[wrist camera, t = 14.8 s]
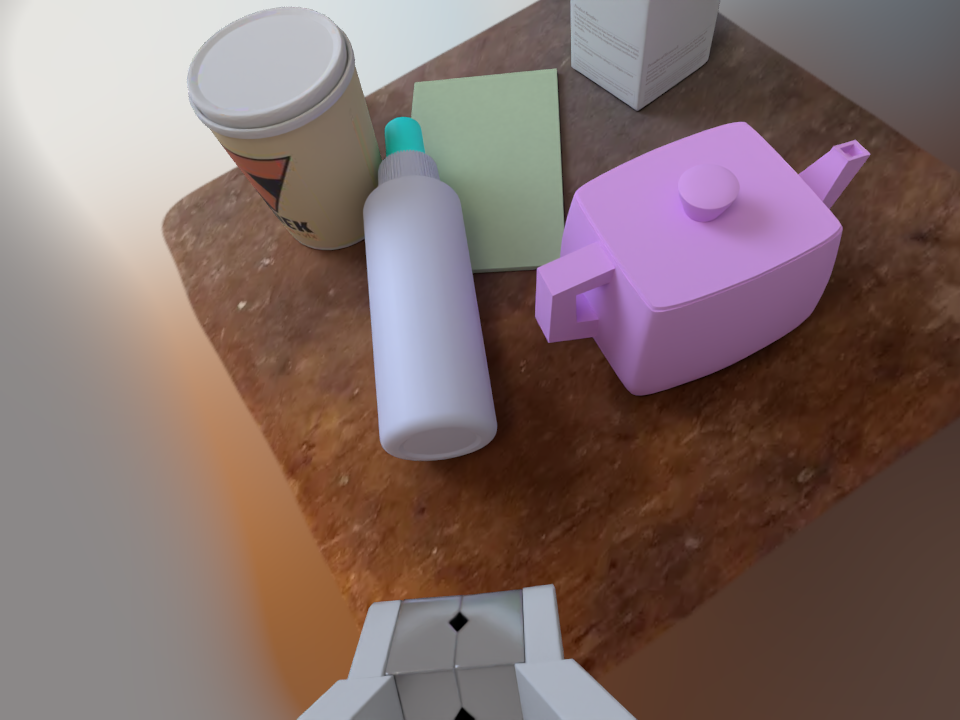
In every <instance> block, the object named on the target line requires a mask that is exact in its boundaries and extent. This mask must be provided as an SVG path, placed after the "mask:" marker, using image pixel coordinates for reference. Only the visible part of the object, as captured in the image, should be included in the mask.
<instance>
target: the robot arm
mask: <svg viewBox="0 0 960 720" xmlns="http://www.w3.org/2000/svg"><path fill="white" fill-rule="evenodd" d="M297 720H637V719H636V718H635V717H634V716H633V715H632V714H630V713H629V712H628V711H627V710H626V709H625V708H624V707H623V706H622V705H621V704H620V703H619V702H618V701H617V700H616V699H615V698H614V697H613V696H612V695H610V693H608V692H607V691H606V690H605V689H604V688H603V687H602V686H601V685H600V684H599V683H598V682H597V681H596V680H595V679H594V678H593V677H592V676H591V675H590V674H589V673H587V672H586V671H585V670H584V669H583V668H582V667H581V666H580V665H579V664H578V663H577V662H576V661H575V660H574V659H565V660H564V653H563V645H562V638H561V630H560V622H559V615H558V607H557V600H556V592H555V587H554V586H553V584H550V585H542V586H534V587H527V588H523V589H519V590H509V591H500V592H491V593H481V594H472V595H457V596H444V597H431V598H418V599H405V600H403V601H402V600H396V601H385V602H374V603H373V604H372V605H371V606H370V608H369V609H368V613H367V616H366V619H365V623H364V626H363V629H362V633H361V636H360V639H359V643H358V646H357V649H356V653H355V656H354V659H353V662H352V666H351V669H350V672H349V676H348V679H347V680H338V681H337V682H336V683H335V684H334V685H333V686H332V687H331V688H330V689H329V690H328V691H326V692H325V693H324V694H323V695H322V696H321V697H320V698H319V699H318V700H317V701H316V702H315V703H314V704H313V705H311V706H310V707H309V708H308V709H307V710H306V711H305V712H304V713H303V714H302V715H301V716H300V717H299V718H298V719H297Z"/></svg>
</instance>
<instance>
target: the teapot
mask: <svg viewBox="0 0 960 720" xmlns="http://www.w3.org/2000/svg"><path fill="white" fill-rule="evenodd" d="M869 156H870V153H869V152H868V151H867V150H866V149H865V148H864V147H862V146H861V145H860V144H859V143H858V142H857V141H856V140H853V141H850V142H847V143H843V144H840V145H836V146H833V147H832V149H831V151H829V152H828V153H827V154H825V155H824V156H823V157H821V158H820V159H819V160H817V161H816V162H815V163H813V164H812V165H811V166H809V167H808V168H807V169H805V170H804V171H803V172H801V173H800V174H799V175H798V174H797V173H796V172H795V171H794V170H793V169H792V168H791V167H790V166H789V165H788V163H787V162H786V161H785V160H784V159H783V158H782V157H781V156H780V155H779V154H778V153H777V152H776V151H775V150H774V149H773V148H772V147H771V146H770V145H769V144H768V143H767V142H766V141H765V140H764V139H763V138H762V137H761V136H760V135H759V134H758V133H757V132H756V131H755V130H754V129H753V128H752V127H751V126H749V125H748V124H747V123H746V122H735V123H730V124H725V125H722V126H718V127H715V128H712V129H709V130H706V131H703V132H700V133H697V134H694V135H691V136H689V137H686V138H683V139H680V140H678V141H675V142H673V143H670V144H667V145H665V146H662V147H660V148H657V149H655V150H652V151H650V152H648V153H646V154H643V155H641V156H639V157H637V158H635V159H633V160H630V161H628V162H626V163H624V164H622V165H620V166H618V167H616V168H614V169H612V170H610V171H608V172H606V173H604V174H602V175H600V176H598V177H597V178H595V179H593V180H591V181H590V182H588V183H586V184H585V185H583V186H582V187H580V188H579V189H578V190H577V191H576V192H575V194H574V197H573V200H572V203H571V206H570V209H569V213H568V216H567V220H566V224H565V228H564V232H563V237H562V243H561V252H560V258H558V259H556V260H554V261H552V262H549V263H547V264H545V265H543V266H540V267H538V268H537V282H536V305H535V318H536V320H537V322H538V324H539V325H540V327H541V329H542V331H543V333H544V335H545V337H546V339H547V341H548V343H551V342H559V341H566V340H574V339H582V338H590V337H593V338H594V340H595V341H596V343H597V345H598V346H599V348H600V349H601V351H602V353H603V354H604V356H605V357H606V359H607V360H608V362H609V364H610V365H611V367H612V368H613V370H614V371H615V373H616V375H617V376H618V377H619V379H620V380H621V382H622V383H623V385H624V386H625V387H626V389H627V390H628V391H629V392H630V393H631V394H633V395H640V396H642V395H648V394H653V393H656V392H660V391H663V390H667V389H670V388H673V387H676V386H678V385H681V384H684V383H687V382H690V381H693V380H696V379H698V378H701V377H704V376H706V375H709V374H712V373H714V372H716V371H719V370H721V369H723V368H726V367H728V366H730V365H732V364H734V363H736V362H738V361H740V360H742V359H744V358H746V357H747V356H749V355H751V354H753V353H755V352H757V351H759V350H760V349H762V348H764V347H766V346H768V345H769V344H771V343H773V342H774V341H776V340H778V339H780V338H781V337H783V336H784V335H786V334H787V333H789V332H790V331H792V330H793V329H795V328H796V327H798V326H799V325H800V324H801V323H802V322H803V321H804V320H805V319H807V318H808V317H809V316H810V315H811V313H812V312H813V310H814V309H815V307H816V305H817V303H818V301H819V299H820V298H821V296H822V294H823V292H824V290H825V287H826V285H827V283H828V281H829V278H830V275H831V273H832V270H833V266H834V263H835V259H836V256H837V252H838V248H839V244H840V239H841V234H842V229H843V227H842V226H841V224H840V222H839V221H838V220H837V218H836V217H835V216H834V214H833V213H832V212H831V211H830V210H829V209H830V208H831V206H832V205H833V204H834V202H835V201H836V200H837V199H838V197H839V196H840V195H841V193H842V192H843V191H844V189H845V188H846V187H847V185H848V184H849V183H850V181H851V180H852V179H853V177H854V176H855V175H856V173H857V172H858V171H859V169H860V168H861V167H862V165H863V164H864V163H865V161H866V160H867V159H868V157H869Z"/></svg>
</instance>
